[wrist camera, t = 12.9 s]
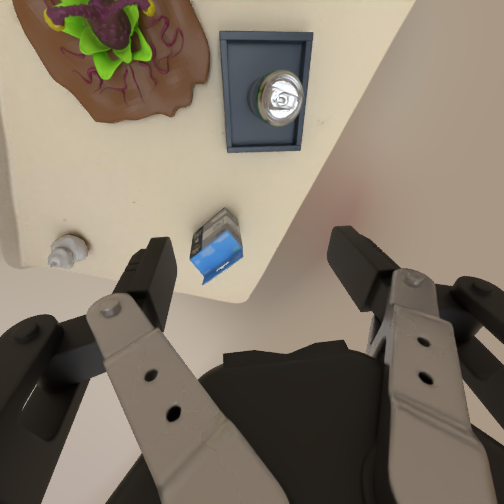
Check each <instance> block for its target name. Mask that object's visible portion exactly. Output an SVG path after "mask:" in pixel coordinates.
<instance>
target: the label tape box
mask: <svg viewBox="0 0 504 504" xmlns="http://www.w3.org/2000/svg"><path fill="white" fill-rule="evenodd" d="M242 258H243V246H242V241H241V235H240V230H239V224H238V220H237V219H236V218H235V217H234V216H233V215H232V214H231V213H230V212H229V211H228V210H227V209H226V208H224V209H223V210H222V211H220V212H219V213H218V214H217V215H216V216H214V217H213V218H212V219H211V220H210V221H209V222H207V223H206V224H205V225H204V226H203V227H202V228H200V229H199V230H198V231H197V232H196V233H194V234H193V239H192V246H191V253H190V261H191V262H192V263H193V264H194V265H195V267H196V268H197V269H198V270H199V271H200V272H201V274H202V275H203V276H204V280H203V284H202V285H204V284H206V283H208V282H209V281H211V280H212V279H213V278H215V277H216V276H218V275H219V274H221V273H222V272H223V271H225V270H226V269H228V268H229V267H231V266H232V265H233V264H235V263H236V262H237V261H239V260H240V259H242ZM227 262H229V263H228V264H227V265H225V266H224V268H223V269H220V270H218V271H217V269H219V268H220V267H221V266H223V265H224V264H226V263H227ZM216 271H217V272H216Z"/></svg>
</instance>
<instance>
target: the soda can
mask: <svg viewBox="0 0 504 504" xmlns="http://www.w3.org/2000/svg"><path fill="white" fill-rule="evenodd" d="M303 98H304V94H303V87H302V84H301V82H300V80H299V78H298V77H297V76H296V75H295V74H294V73H293V72H291V71H289V70H285V69H279V70H275V71H273V72H270V73H268V74H266V75H264V76H262V77H259V78H258V79H256V80H255V81H254V82H253V83H252V84H251V86H250V88H249V91H248V97H247V100H248V106H249V108H250V110H251V112H252V113H253V114H254V115H255V116H256V117H258V118H259V119H261V120H263V121H264V122H266V123H268V124H269V125H272V126H275V127H282V126H286V125H288V124H289V123H291V122H292V121H293V120H294V119H295V118H296V117H297V116H298V114H299V112H300V110H301V108H302V105H303Z"/></svg>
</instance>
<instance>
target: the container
mask: <svg viewBox="0 0 504 504" xmlns="http://www.w3.org/2000/svg"><path fill="white" fill-rule="evenodd" d="M312 41H313V32H262V31H220V50H221V65H222V81H223V96H224V111H225V126H226V142H227V153H239V152H272V151H300V150H301V142H302V133H303V124H304V115H305V106H306V96H307V87H308V78H309V69H310V60H311V51H312ZM279 69H285V70H289V71H291V72H293V73H294V74H295V75H296V76H297V77H298V78H299V80H300V82H301V84H302V87H303V94H304V98H303V105H302V108H301V110H300V112H299V114H298V116H297V117H296V118H295V119H294V120H293V121H292V122H291V123H289V124H288V125H286V126H282V127H275V126H272V125H269V124H268V123H266V122H264V121H263V120H261V119H259V118H258V117H256V116H255V115H254V114H253V113H252V112H251V110H250V108H249V106H248V100H247V97H248V91H249V88H250V86H251V84H252V83H253V82H254V81H255V80H256V79H258V78H259V77H262V76H264V75H266V74H268V73H270V72H273V71H275V70H279Z"/></svg>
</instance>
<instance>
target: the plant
mask: <svg viewBox="0 0 504 504" xmlns="http://www.w3.org/2000/svg"><path fill="white" fill-rule="evenodd" d="M12 1H13V6H14V9H15V12H16V14H17V17H18V19H19V21H20V24H21V26H22V28H23V30H24V32H25V34H26V36H27V38H28V40H29V41H30V43H31V44H32V46H33V47H34V49H35V51H36V52H37V54H38V56H39V57H40V59H41V61H42V62H43V64H44V66H45V67H46V69H47V71H48V72H49V74H50V75H51V77H52V78H53V79H54V80H55V81H56V82H57V83H59V84H60V85H62V86H63V87H65V88H66V89H67V90H69V91H70V92H71V93H72V94H73V95H74V96H75V97H76V98H77V100H78V101H79V102H80V103H81V104H82V106H83V107H84V108H85V109H86V110H87V111H88V112H89V114H90V115H91V116H92V118H93V119H94V120H95V121H96V122H104V123H116V122H120V121H122V120H139V119H142V118H145V117H148V116H151V115H154V114H163V115H167V116H169V117H173V116H174V115H175V112H176V110H177V109H178V108H181V107H187V106H189V105H190V104H191V102H192V96H193V87H194V85H195V84H204V83H206V82H207V79H208V75H209V69H210V52H209V46H208V42H207V39H206V36H205V34H204V31H203V29H202V27H201V24H200V22H199V20H198V18H197V16H196V14H195V12H194V10H193V8H192V5H191V3H190V0H12Z"/></svg>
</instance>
